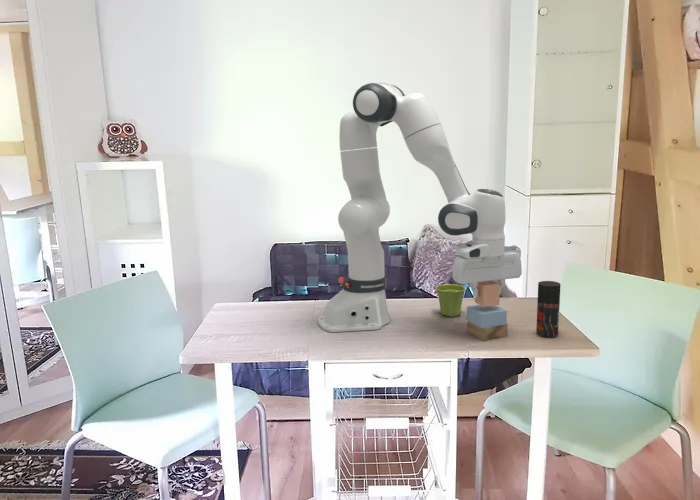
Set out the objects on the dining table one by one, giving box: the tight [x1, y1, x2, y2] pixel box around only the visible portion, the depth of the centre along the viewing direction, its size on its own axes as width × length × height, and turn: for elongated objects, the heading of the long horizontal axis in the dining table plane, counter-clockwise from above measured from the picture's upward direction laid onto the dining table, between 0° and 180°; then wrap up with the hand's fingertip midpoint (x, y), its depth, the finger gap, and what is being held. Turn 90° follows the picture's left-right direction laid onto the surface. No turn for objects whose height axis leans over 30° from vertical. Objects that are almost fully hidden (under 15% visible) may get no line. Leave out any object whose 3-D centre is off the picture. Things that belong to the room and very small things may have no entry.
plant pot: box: [435, 283, 467, 317], centre depth 187 cm, size 9×9×9 cm
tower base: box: [466, 320, 509, 342], centre depth 168 cm, size 8×8×4 cm
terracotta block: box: [474, 280, 500, 307], centre depth 166 cm, size 5×5×6 cm
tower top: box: [466, 304, 508, 328], centre depth 167 cm, size 8×8×4 cm
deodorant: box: [535, 280, 561, 339], centre depth 166 cm, size 6×6×15 cm
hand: (486, 295), depth 166 cm, fingers open, 5 cm apart
